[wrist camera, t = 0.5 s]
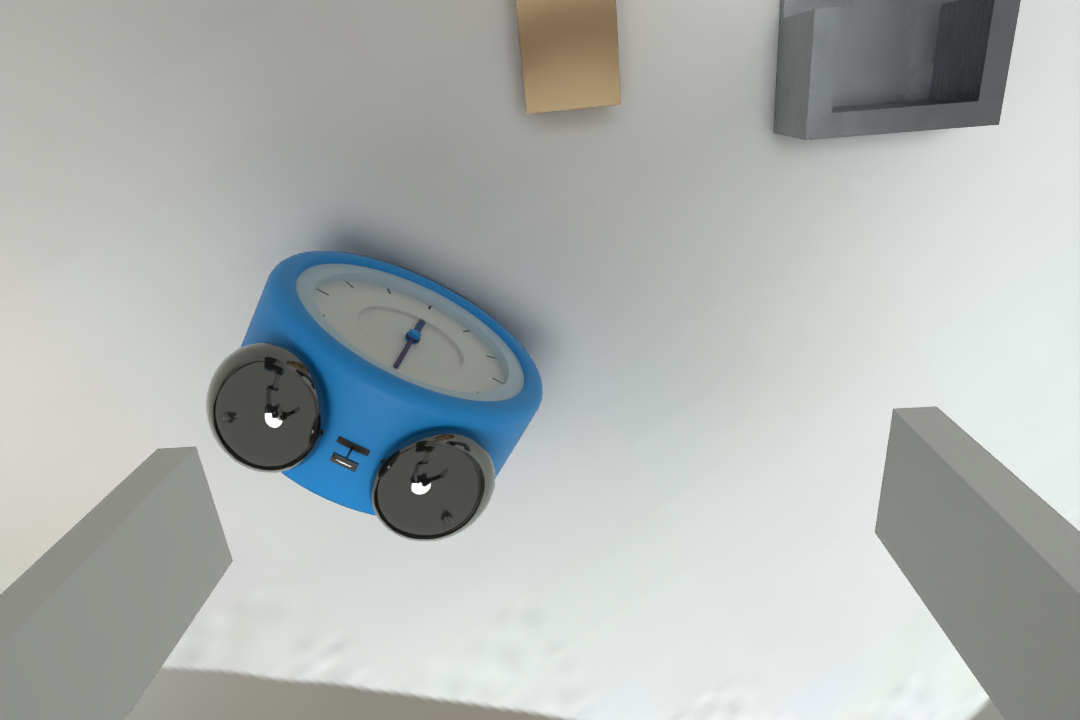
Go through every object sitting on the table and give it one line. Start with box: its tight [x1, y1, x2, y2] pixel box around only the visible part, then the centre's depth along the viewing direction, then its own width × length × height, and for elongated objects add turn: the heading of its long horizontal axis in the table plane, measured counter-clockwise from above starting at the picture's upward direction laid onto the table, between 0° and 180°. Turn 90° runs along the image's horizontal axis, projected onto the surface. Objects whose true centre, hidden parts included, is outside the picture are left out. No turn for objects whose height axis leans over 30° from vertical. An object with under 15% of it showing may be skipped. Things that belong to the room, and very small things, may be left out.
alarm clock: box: [206, 251, 543, 541], centre depth 30 cm, size 13×6×15 cm, turn 61°
